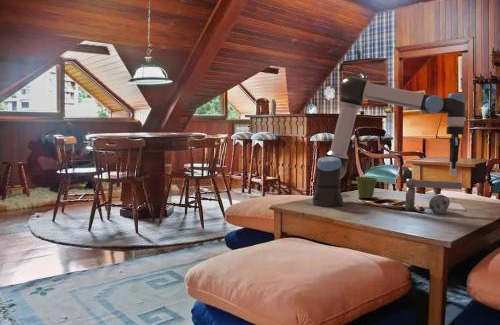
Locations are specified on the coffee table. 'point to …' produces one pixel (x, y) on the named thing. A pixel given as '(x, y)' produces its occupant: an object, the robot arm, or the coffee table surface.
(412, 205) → the latch post
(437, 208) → the grey streaked egg shape
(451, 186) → the bar
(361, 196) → the plant pot
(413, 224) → the coffee table surface
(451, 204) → the board
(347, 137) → the robot arm
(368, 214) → the coffee table surface
